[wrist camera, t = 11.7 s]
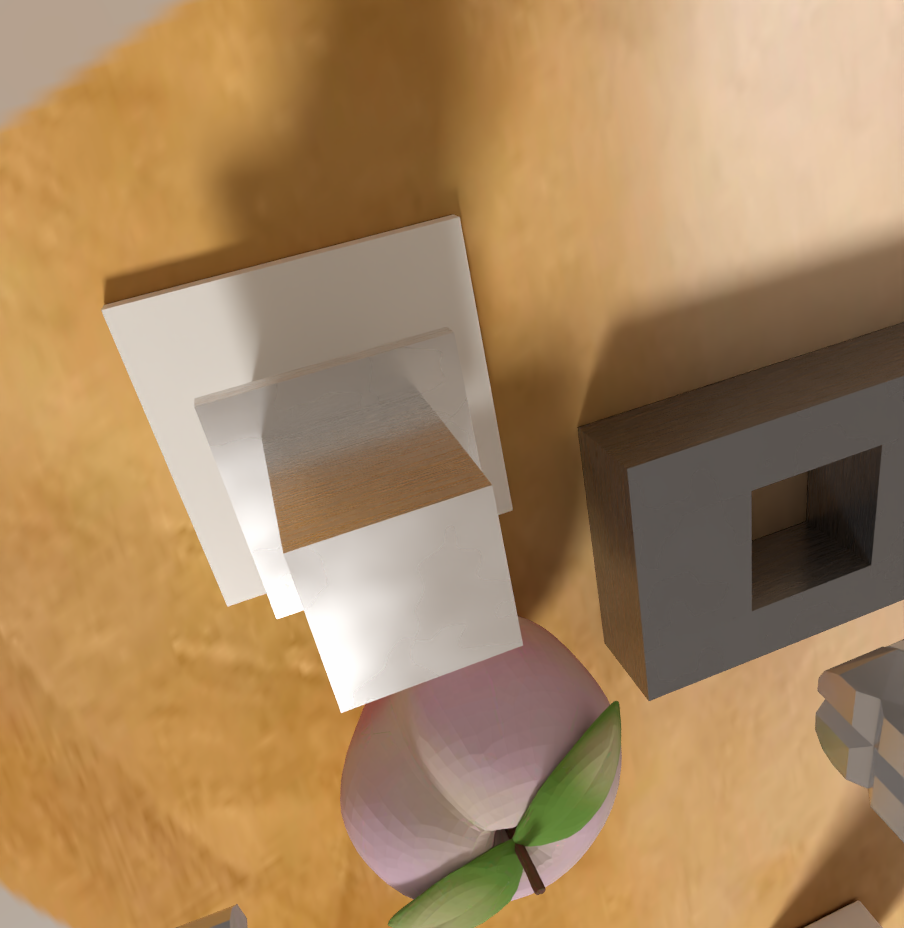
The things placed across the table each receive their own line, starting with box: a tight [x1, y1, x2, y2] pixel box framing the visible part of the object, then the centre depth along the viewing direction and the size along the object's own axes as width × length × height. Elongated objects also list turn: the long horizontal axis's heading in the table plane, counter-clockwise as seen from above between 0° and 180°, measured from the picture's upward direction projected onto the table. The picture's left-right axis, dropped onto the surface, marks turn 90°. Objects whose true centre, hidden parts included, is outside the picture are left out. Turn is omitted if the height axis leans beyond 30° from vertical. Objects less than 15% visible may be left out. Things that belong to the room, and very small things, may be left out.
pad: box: [101, 214, 513, 606], centre depth 23 cm, size 10×10×1 cm
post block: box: [578, 323, 904, 701], centre depth 28 cm, size 10×16×4 cm, turn 102°
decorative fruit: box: [340, 616, 622, 928], centre depth 24 cm, size 9×8×10 cm
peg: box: [194, 326, 523, 713], centre depth 19 cm, size 6×6×10 cm
